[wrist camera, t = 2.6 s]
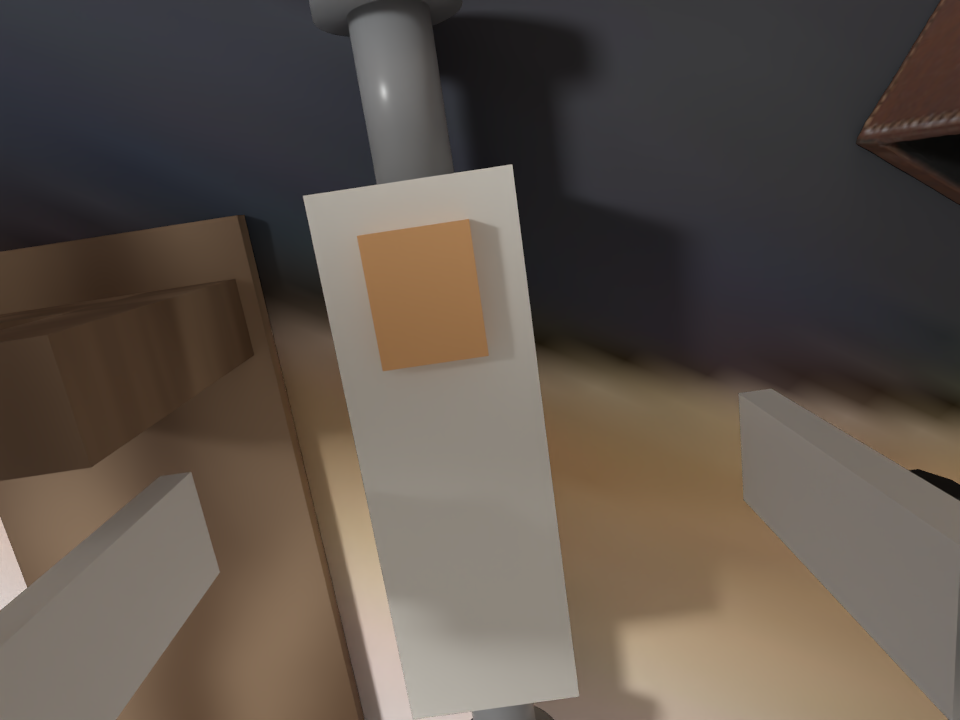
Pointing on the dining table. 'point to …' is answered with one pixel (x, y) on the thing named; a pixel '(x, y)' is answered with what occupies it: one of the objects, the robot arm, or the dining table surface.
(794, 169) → the dining table surface
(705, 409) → the dining table surface
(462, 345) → the white block with pegs
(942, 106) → the letter holder
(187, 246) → the cradle rack
